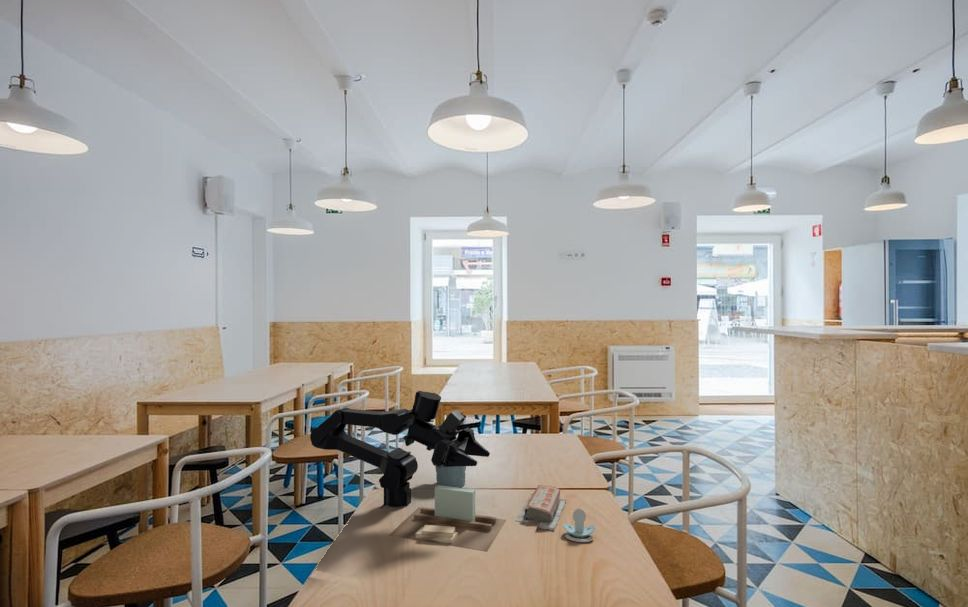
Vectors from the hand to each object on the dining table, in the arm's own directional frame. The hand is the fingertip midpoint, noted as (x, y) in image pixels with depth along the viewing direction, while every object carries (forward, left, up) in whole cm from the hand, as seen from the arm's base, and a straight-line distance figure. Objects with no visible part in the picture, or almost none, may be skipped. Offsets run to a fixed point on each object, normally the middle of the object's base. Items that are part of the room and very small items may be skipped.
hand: (483, 459), depth 123 cm
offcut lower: (-7, -13, -15) cm, 21 cm away
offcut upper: (-7, -13, -14) cm, 20 cm away
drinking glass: (-17, +20, -16) cm, 31 cm away
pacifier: (+24, -1, -16) cm, 29 cm away
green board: (-6, -4, -15) cm, 16 cm away
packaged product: (+13, +9, -16) cm, 23 cm away
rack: (-6, -8, -16) cm, 18 cm away
